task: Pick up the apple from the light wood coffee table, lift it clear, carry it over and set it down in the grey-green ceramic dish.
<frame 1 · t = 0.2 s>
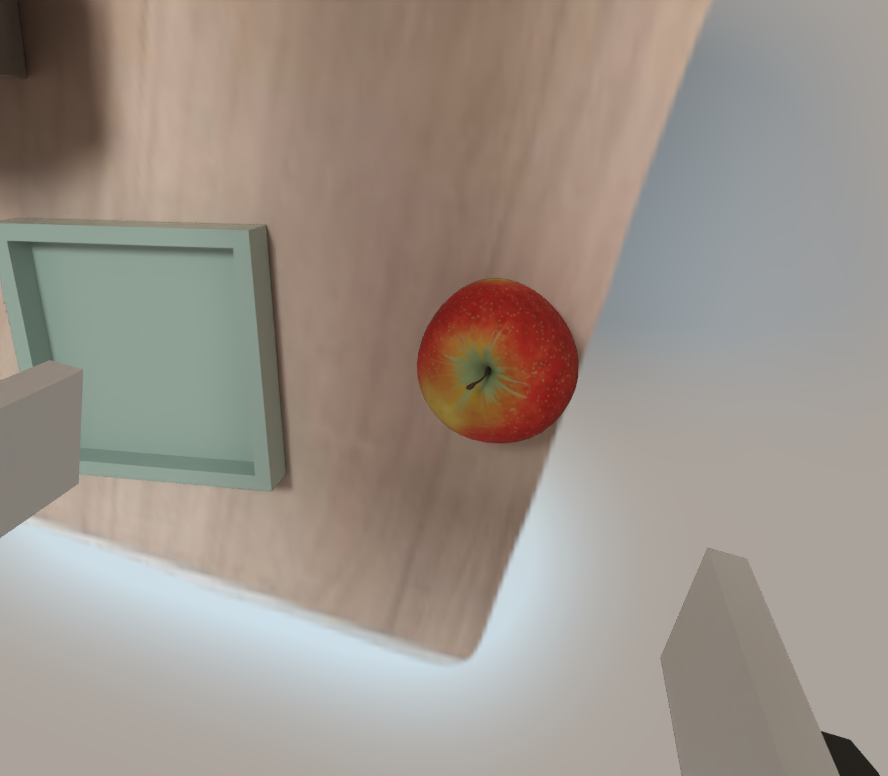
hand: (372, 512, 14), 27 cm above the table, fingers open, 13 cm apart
dish: (156, 350, 44), on the table
apple: (505, 336, 41), on the table
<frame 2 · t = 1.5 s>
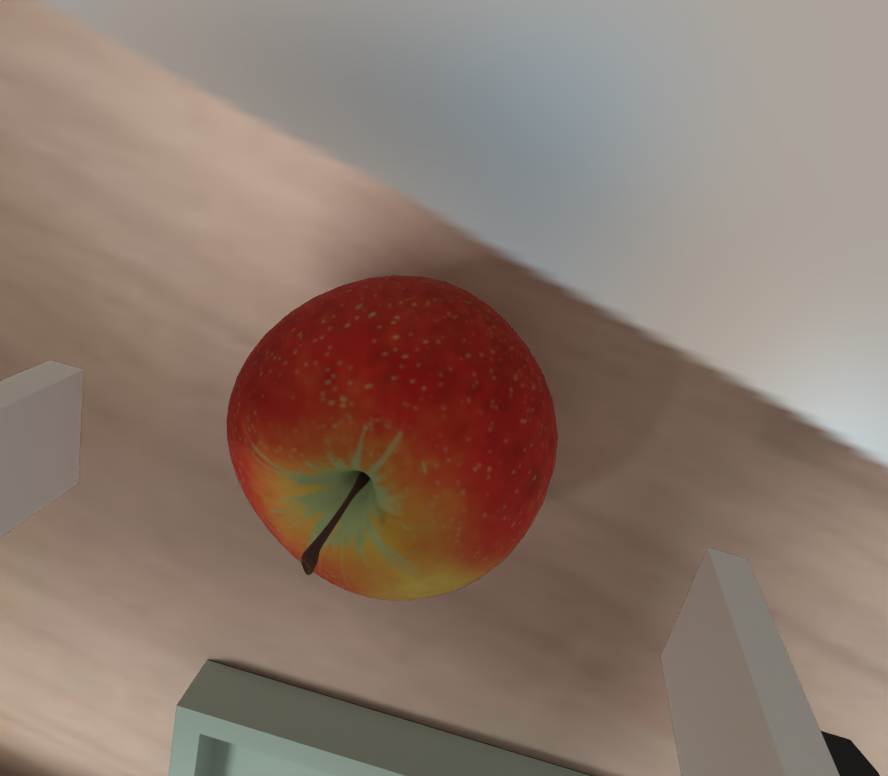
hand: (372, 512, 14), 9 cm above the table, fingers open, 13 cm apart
apple: (429, 373, 23), on the table
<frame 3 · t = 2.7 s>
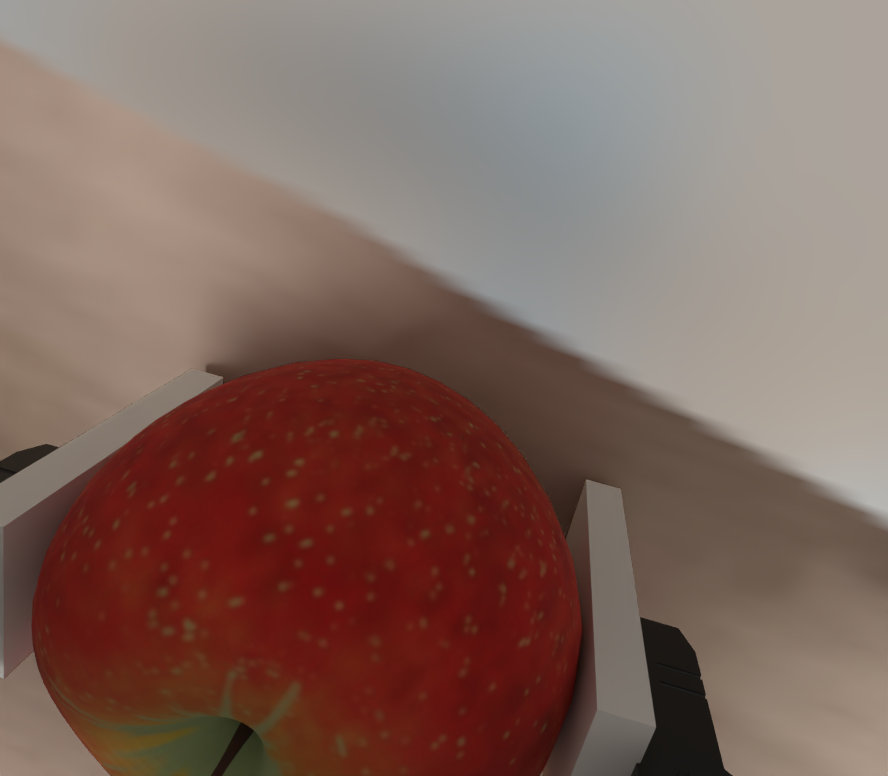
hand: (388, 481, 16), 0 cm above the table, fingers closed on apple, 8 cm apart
apple: (398, 472, 16), on the table, touching gripper
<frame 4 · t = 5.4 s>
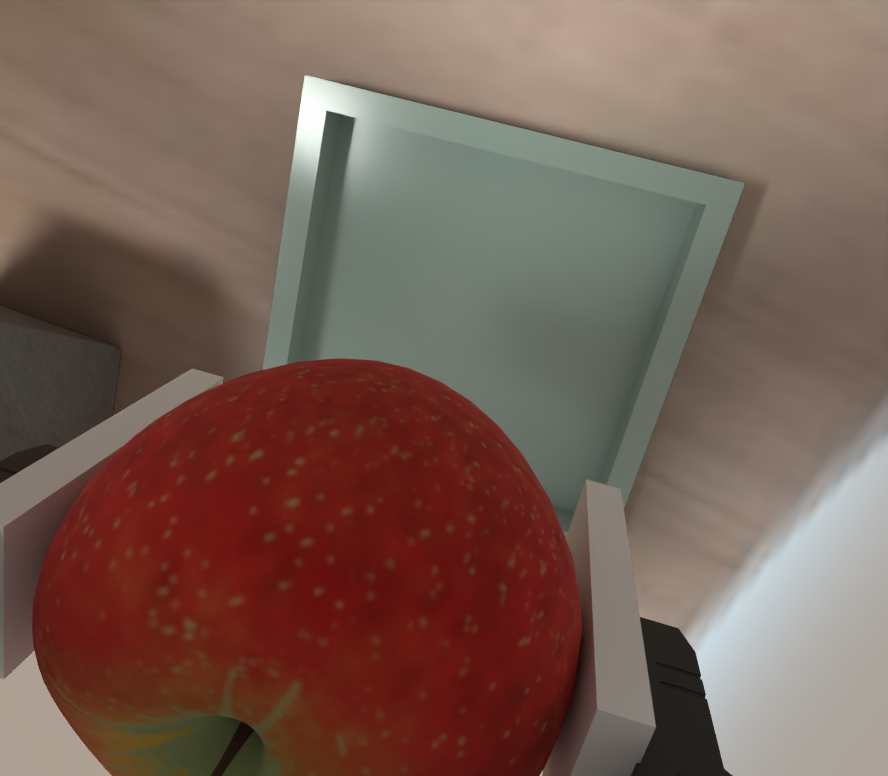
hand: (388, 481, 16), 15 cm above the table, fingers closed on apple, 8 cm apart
dish: (473, 324, 30), on the table
planter: (41, 425, 36), on the table
apple: (398, 471, 16), point 15 cm above the table, touching gripper
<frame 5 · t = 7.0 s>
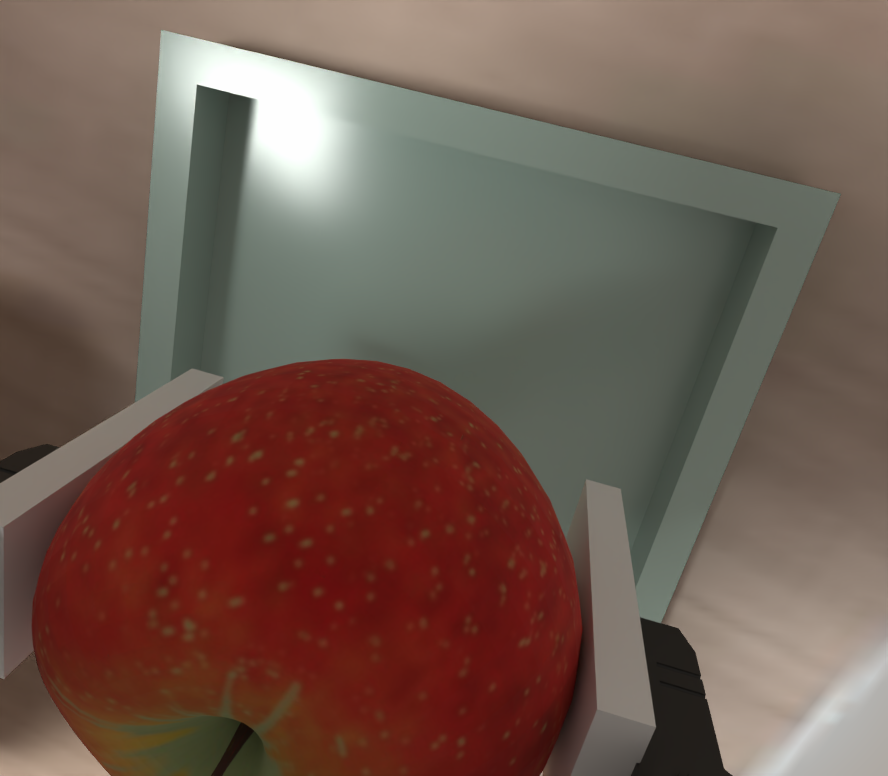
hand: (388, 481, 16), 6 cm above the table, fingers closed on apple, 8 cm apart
dish: (431, 391, 21), on the table
apple: (398, 472, 16), point 5 cm above the table, touching gripper
when the fingers open (3 cm above the table, at t = 8.1 s): apple drops 2 cm, resting on dish.
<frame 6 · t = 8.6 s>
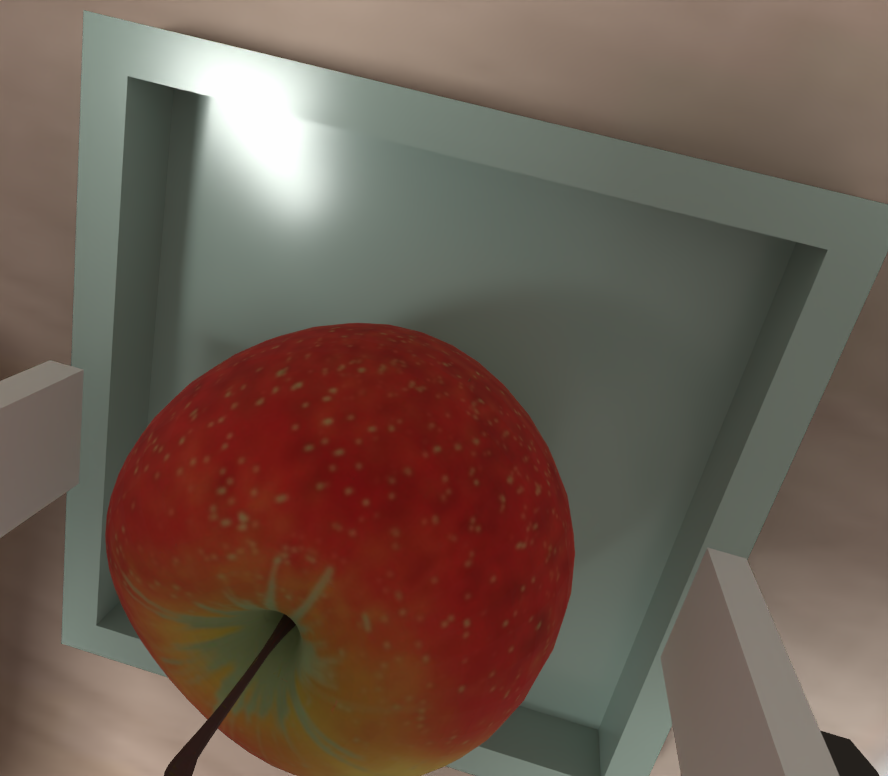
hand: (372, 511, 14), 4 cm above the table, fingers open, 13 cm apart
dish: (414, 432, 18), on the table
apple: (415, 440, 18), point 1 cm above the table, touching dish
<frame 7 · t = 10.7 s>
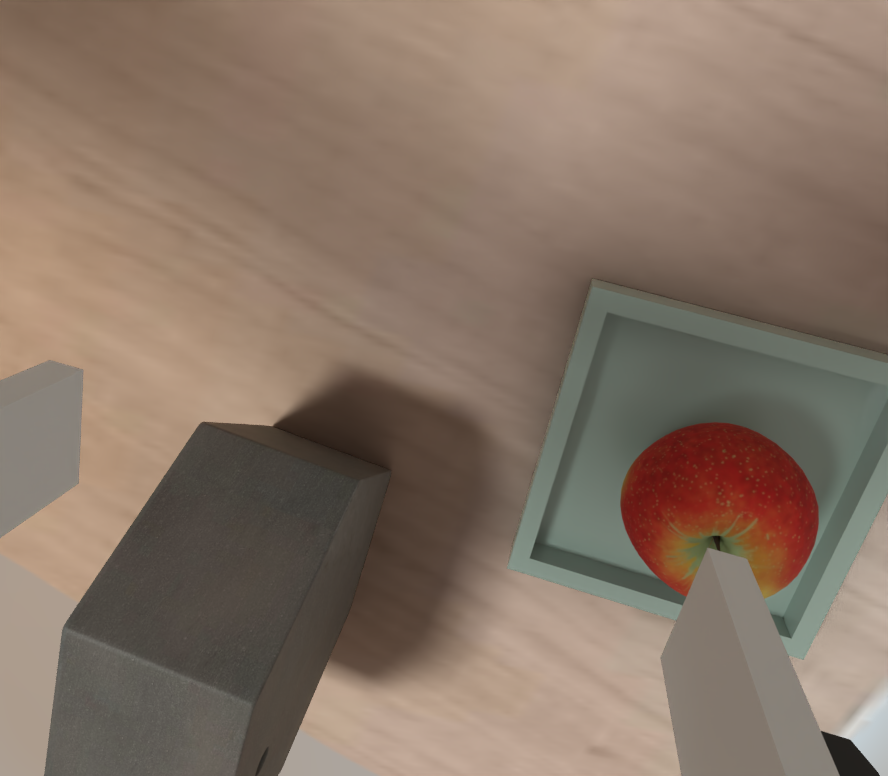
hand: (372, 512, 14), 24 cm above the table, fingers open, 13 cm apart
dish: (696, 463, 37), on the table
planter: (311, 526, 43), on the table
apple: (700, 466, 37), resting on dish
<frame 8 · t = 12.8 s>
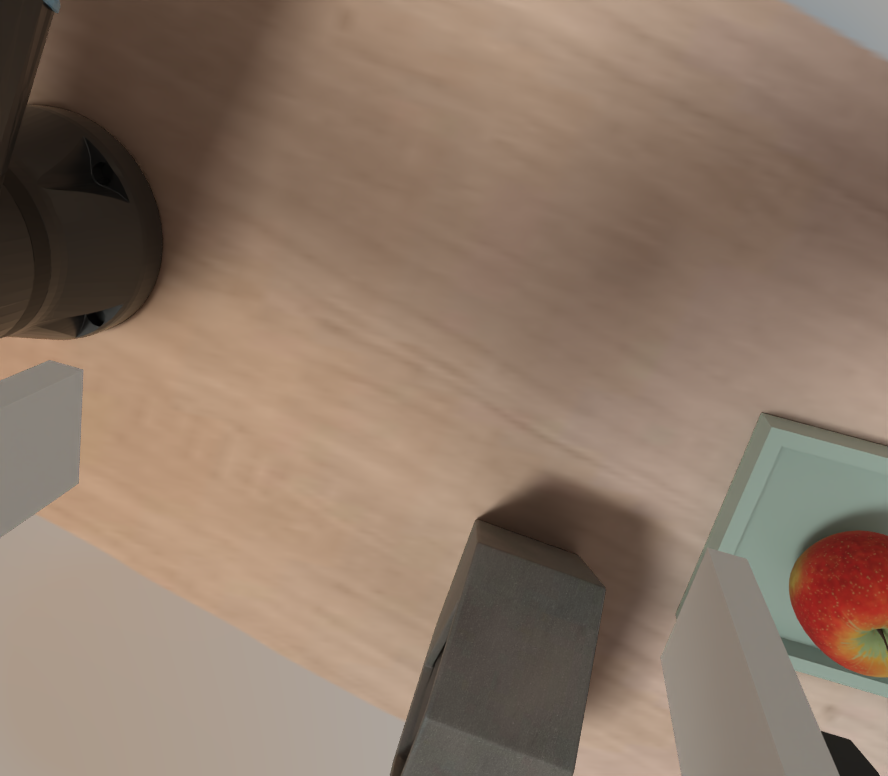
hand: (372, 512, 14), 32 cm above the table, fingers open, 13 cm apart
dish: (835, 553, 46), on the table
planter: (501, 597, 52), on the table
apple: (840, 556, 46), resting on dish
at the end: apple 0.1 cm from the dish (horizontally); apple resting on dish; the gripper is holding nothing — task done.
